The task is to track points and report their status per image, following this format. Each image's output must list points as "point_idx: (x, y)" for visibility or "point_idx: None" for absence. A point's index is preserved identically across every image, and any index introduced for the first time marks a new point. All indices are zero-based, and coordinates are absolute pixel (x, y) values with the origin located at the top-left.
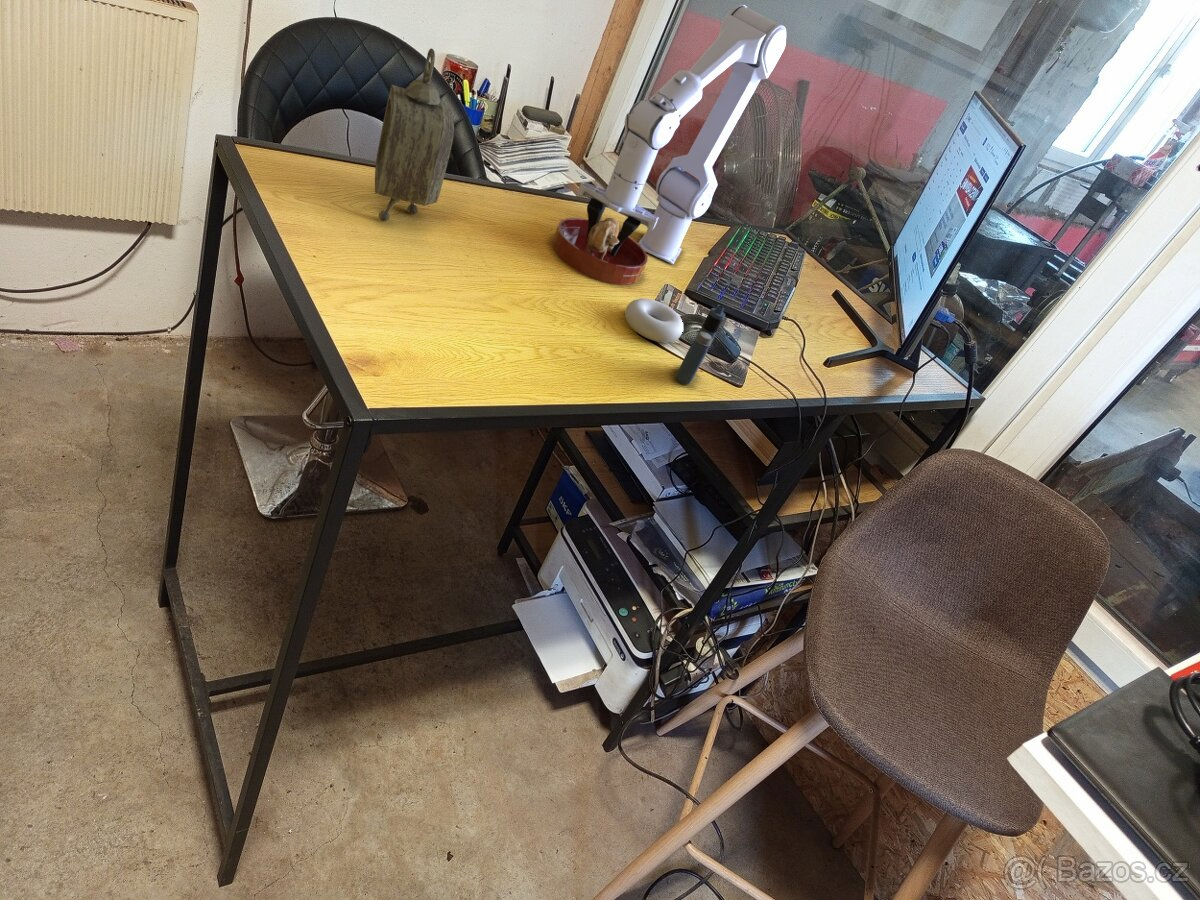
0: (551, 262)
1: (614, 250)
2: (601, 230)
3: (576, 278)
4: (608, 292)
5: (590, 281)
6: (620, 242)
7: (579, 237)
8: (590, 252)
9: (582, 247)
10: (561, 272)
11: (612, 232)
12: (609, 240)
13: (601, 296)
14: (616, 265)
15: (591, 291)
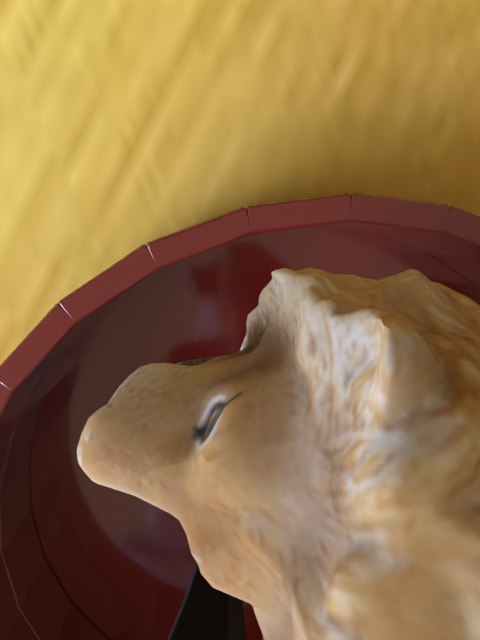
0: (474, 135)
1: None
2: (463, 312)
3: (277, 97)
4: (47, 146)
5: (198, 165)
6: (185, 637)
7: None
8: None
9: None
10: (379, 66)
11: (245, 471)
12: (222, 365)
13: (45, 21)
14: (61, 304)
15: (126, 16)
